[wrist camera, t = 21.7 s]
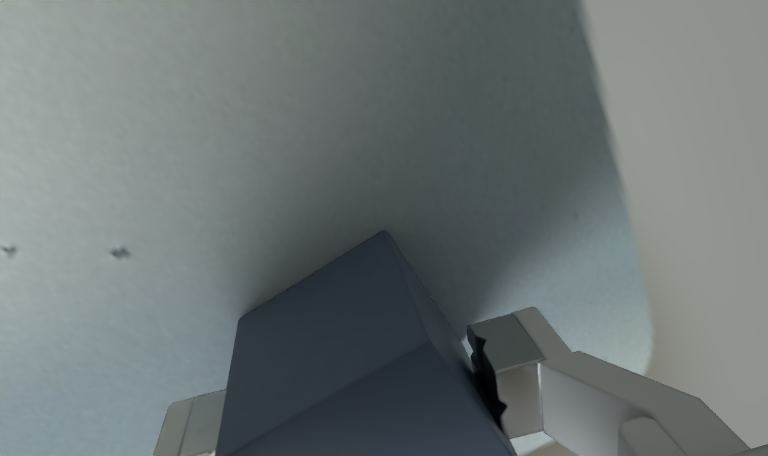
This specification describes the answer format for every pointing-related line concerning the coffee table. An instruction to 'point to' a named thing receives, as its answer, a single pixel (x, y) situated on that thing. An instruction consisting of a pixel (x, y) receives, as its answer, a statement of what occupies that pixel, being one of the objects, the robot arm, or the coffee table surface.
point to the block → (355, 370)
